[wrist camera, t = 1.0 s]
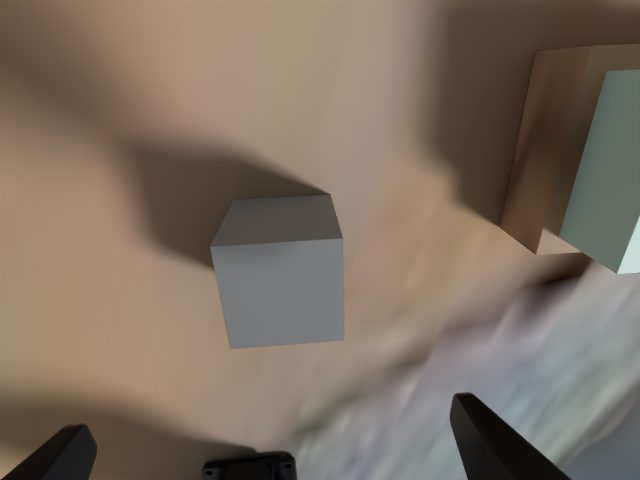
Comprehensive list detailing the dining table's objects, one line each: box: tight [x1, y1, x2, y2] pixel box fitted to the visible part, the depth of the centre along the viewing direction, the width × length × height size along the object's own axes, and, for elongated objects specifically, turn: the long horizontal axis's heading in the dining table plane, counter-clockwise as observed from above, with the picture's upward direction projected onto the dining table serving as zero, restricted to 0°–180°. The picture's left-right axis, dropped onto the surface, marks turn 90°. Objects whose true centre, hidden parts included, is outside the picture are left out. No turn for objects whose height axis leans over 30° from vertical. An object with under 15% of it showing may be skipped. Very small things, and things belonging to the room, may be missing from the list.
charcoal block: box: [210, 194, 344, 349], centre depth 15 cm, size 5×5×5 cm
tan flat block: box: [500, 44, 640, 255], centre depth 15 cm, size 8×8×3 cm
